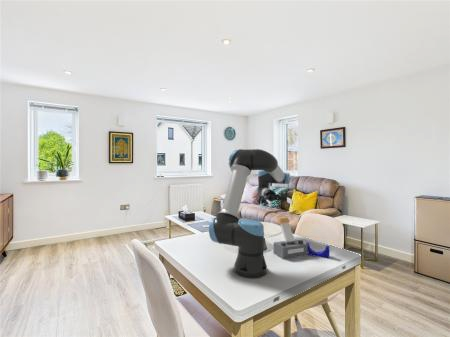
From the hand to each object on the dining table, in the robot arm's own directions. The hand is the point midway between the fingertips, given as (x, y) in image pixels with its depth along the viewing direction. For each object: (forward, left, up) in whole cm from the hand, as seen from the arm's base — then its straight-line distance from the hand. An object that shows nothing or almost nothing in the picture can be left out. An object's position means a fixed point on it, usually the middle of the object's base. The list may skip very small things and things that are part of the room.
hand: (281, 203), depth 143 cm
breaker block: (+1, -11, -26) cm, 28 cm away
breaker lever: (+1, -11, -19) cm, 22 cm away
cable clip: (+15, -14, -27) cm, 34 cm away
